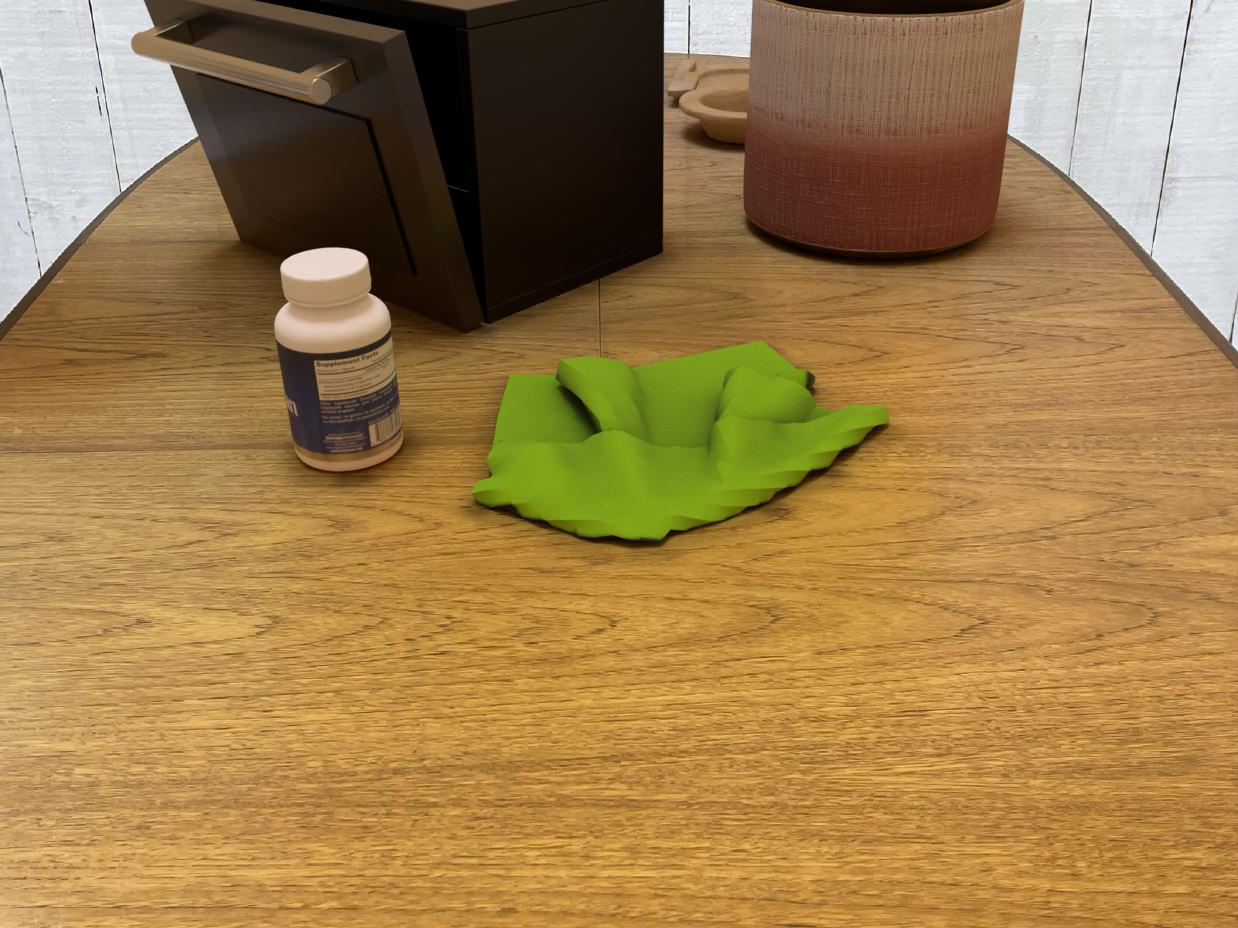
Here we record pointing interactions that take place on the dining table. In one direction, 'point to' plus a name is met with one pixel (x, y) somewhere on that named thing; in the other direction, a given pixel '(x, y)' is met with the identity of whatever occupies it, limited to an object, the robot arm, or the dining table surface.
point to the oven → (539, 132)
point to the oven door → (320, 142)
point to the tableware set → (714, 97)
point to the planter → (878, 122)
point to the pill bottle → (337, 362)
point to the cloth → (661, 441)
